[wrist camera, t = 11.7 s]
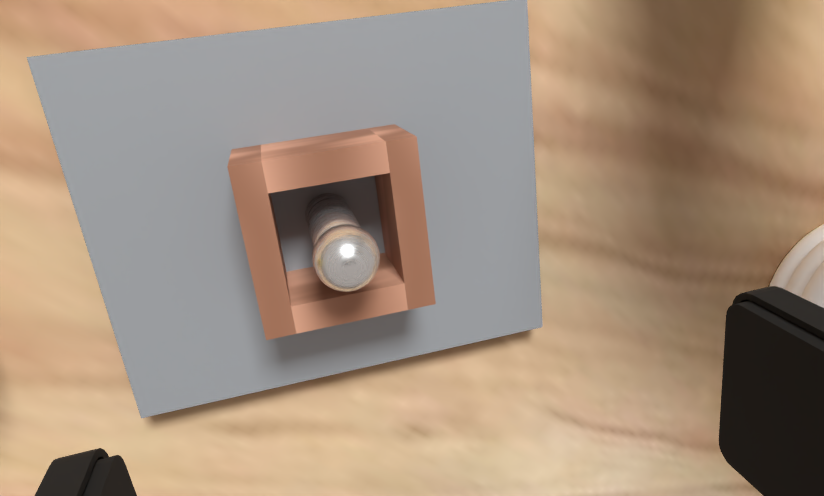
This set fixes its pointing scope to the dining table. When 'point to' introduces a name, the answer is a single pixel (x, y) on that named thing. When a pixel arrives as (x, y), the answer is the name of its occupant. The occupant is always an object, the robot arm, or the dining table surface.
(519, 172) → the hook board
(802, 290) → the coaster
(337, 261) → the hook post
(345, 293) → the wooden loop
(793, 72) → the dining table surface
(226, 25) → the dining table surface
